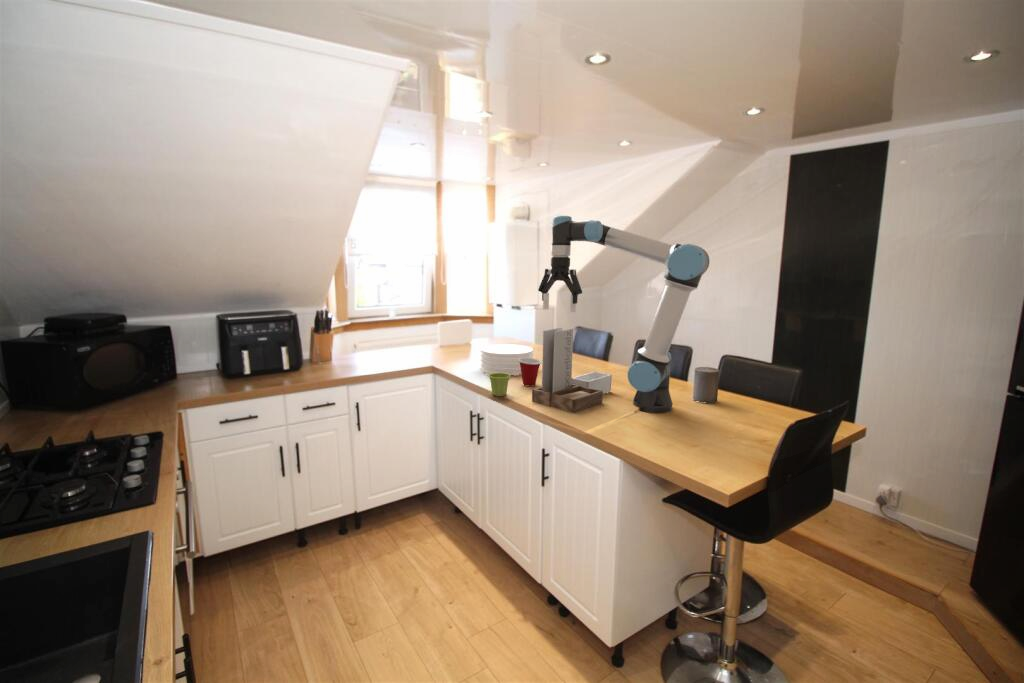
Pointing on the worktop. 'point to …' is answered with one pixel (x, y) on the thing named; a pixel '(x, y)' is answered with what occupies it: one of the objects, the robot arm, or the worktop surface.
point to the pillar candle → (706, 384)
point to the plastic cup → (529, 370)
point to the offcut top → (575, 394)
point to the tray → (565, 402)
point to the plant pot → (499, 383)
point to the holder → (594, 381)
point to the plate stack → (504, 358)
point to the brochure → (557, 360)
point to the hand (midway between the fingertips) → (558, 310)
